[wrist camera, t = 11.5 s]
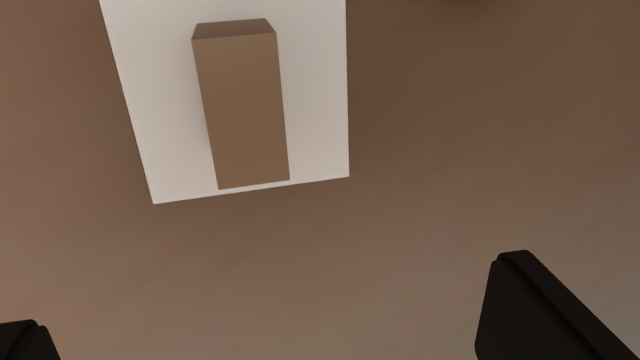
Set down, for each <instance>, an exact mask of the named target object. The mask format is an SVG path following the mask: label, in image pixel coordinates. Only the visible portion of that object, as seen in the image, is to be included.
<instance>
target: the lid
mask: <svg viewBox="0 0 640 360" xmlns="http://www.w3.org/2000/svg"><path fill="white" fill-rule="evenodd" d="M99 2H100V6H101V10H102V13H103V17H104V21H105V24H106V28H107V32H108V36H109V39H110V43H111V47H112V51H113V54H114V58H115V62H116V66H117V69H118V73H119V77H120V81H121V84H122V88H123V92H124V96H125V99H126V103H127V107H128V111H129V114H130V118H131V122H132V126H133V129H134V133H135V137H136V141H137V144H138V148H139V152H140V156H141V159H142V163H143V167H144V171H145V174H146V178H147V182H148V186H149V189H150V193H151V197H152V201H153V204H158V203H165V202H172V201H179V200H186V199H193V198H200V197H208V196H215V195H222V194H229V193H236V192H243V191H250V190H257V189H264V188H271V187H279V186H286V185H293V184H300V183H307V182H314V181H321V180H328V179H335V178H342V177H349V151H348V104H347V57H346V9H345V0H99Z"/></svg>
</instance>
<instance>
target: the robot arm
mask: <svg viewBox="0 0 640 360" xmlns="http://www.w3.org/2000/svg"><path fill="white" fill-rule="evenodd" d="M475 352H476V355H477V358H478V360H640V359H639V358H638V357H637V356H636V355H635V354H634V353H633V352H632V351H631V350H630V349H629V348H628V347H627V346H626V345H625V344H624V343H623V342H622V341H621V340H620V339H619V338H618V337H616V336H615V335H614V334H613V333H612V332H611V331H610V330H609V329H608V328H607V327H606V326H605V325H604V324H603V323H602V322H601V321H600V320H599V319H598V318H597V317H596V316H595V315H594V314H593V313H592V312H591V311H590V310H589V309H588V308H587V307H586V306H585V305H584V304H583V303H582V302H581V301H580V300H579V299H578V298H577V297H576V296H575V295H574V294H573V293H572V292H571V291H570V290H569V289H568V288H567V287H566V286H564V285H563V284H562V283H561V282H560V281H559V280H558V279H557V278H556V277H555V276H554V275H553V274H552V273H551V272H550V271H549V270H548V269H547V268H546V267H545V266H544V265H543V264H542V263H541V262H540V261H539V260H538V259H537V258H536V257H535V256H534V255H533V254H532V253H531V252H529V251H527V250H519V251H512V252H505V253H500V254H499V255H498V257H497V259H496V260H495V261H493V262H492V264H491V267H490V272H489V276H488V281H487V286H486V291H485V296H484V301H483V306H482V311H481V315H480V320H479V325H478V330H477V335H476V340H475ZM0 360H61V359H60V357H59V354H58V352H57V350H56V348H55V345H54V343H53V341H52V338H51V336H50V334H49V331H48V329H47V328H46V327H45V326H44V325H42V326H38V324H37V323H36V321H34V320H33V319H29V320H22V321H15V322H8V323H1V324H0Z"/></svg>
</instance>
